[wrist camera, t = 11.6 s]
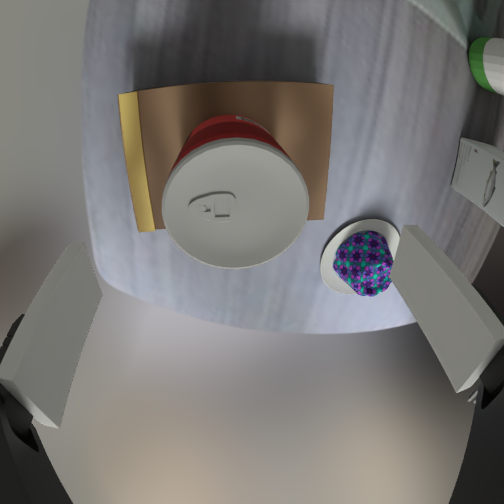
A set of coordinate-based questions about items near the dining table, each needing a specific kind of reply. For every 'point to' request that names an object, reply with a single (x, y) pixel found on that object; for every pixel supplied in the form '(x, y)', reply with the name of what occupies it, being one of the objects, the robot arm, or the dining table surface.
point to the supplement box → (481, 176)
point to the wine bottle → (488, 63)
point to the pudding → (361, 258)
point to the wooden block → (215, 104)
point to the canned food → (234, 195)
